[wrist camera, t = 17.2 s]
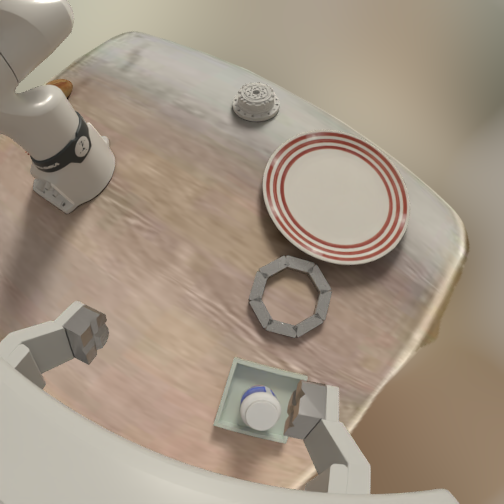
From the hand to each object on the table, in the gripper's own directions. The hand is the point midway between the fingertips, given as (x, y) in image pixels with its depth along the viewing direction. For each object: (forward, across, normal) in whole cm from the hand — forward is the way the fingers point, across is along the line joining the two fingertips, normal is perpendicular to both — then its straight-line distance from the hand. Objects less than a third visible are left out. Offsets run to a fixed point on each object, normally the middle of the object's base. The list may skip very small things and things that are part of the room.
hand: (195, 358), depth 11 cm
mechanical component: (+58, +10, -8) cm, 59 cm away
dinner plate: (+45, -10, +4) cm, 47 cm away
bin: (+19, -6, +30) cm, 36 cm away
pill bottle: (+19, -6, +30) cm, 35 cm away
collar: (+31, -6, +18) cm, 36 cm away
